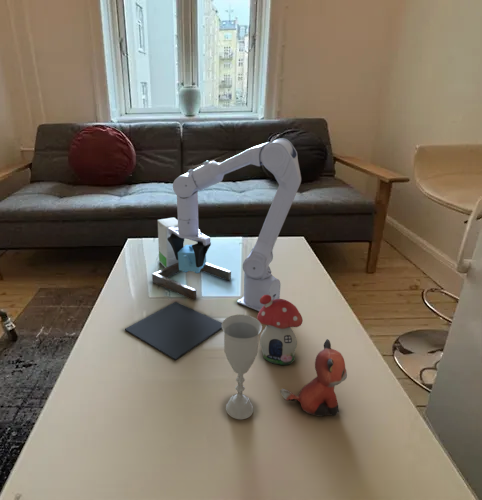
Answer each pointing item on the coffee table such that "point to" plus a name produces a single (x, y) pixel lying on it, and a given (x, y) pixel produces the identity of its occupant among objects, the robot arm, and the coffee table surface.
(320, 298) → the coffee table surface
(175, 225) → the cosmetic box
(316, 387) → the stuffed fox
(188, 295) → the brown u-shaped frame
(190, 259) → the teapot
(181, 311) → the placemat
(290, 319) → the decorative ornament
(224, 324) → the chalice
